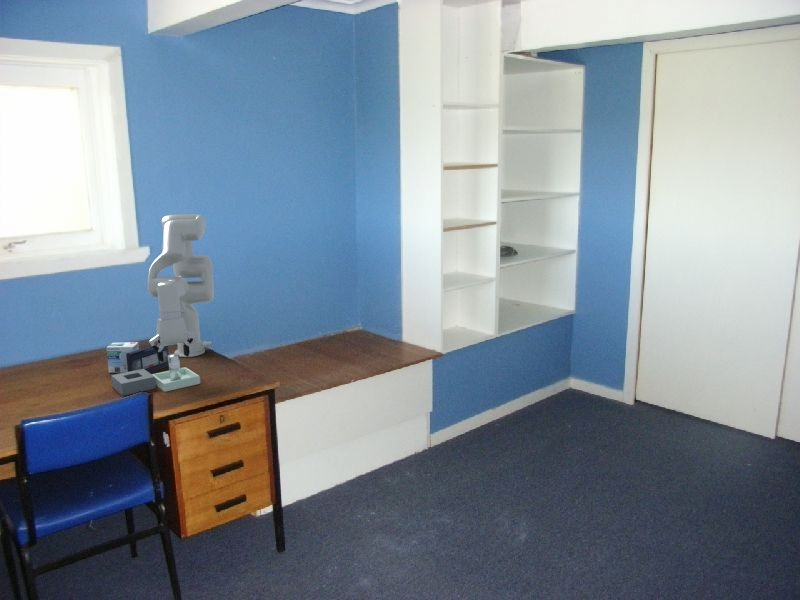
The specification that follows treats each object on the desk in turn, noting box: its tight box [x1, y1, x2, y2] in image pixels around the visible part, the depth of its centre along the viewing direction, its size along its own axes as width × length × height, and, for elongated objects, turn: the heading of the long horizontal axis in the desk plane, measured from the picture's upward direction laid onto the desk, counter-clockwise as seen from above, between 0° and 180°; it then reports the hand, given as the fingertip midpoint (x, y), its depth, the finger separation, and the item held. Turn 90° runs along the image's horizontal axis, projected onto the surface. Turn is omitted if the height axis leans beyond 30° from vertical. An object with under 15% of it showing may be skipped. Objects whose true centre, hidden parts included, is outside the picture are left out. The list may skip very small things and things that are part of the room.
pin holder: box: [110, 369, 157, 396], centre depth 254 cm, size 12×12×4 cm
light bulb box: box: [106, 341, 140, 374], centre depth 273 cm, size 11×7×11 cm, turn 92°
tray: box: [151, 367, 201, 392], centre depth 259 cm, size 14×14×3 cm
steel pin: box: [168, 353, 181, 382], centre depth 258 cm, size 4×4×10 cm
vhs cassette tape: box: [126, 343, 170, 374], centre depth 272 cm, size 18×3×10 cm, turn 147°
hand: (174, 358), depth 258 cm, fingers open, 9 cm apart
